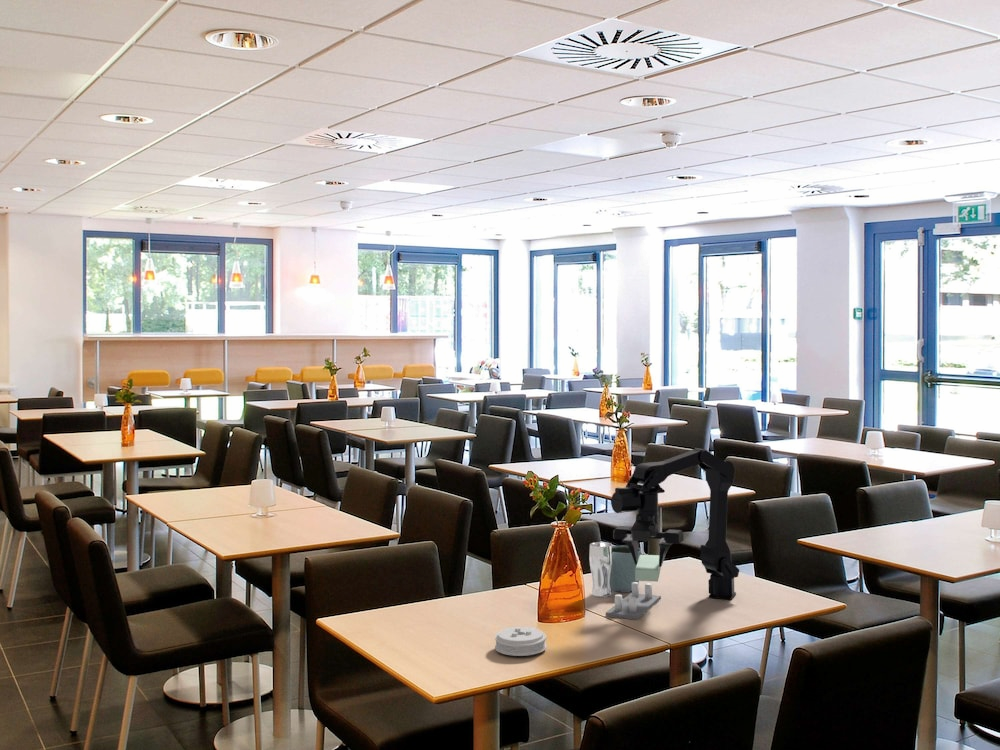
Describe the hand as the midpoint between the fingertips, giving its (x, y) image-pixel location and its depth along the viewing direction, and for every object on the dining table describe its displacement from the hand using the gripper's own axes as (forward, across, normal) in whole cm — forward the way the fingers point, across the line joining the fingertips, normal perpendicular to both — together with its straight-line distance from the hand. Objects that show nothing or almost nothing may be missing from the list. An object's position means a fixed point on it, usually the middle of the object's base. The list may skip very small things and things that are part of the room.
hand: (648, 565), depth 257 cm
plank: (+2, 0, 0) cm, 2 cm away
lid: (+13, -20, -43) cm, 49 cm away
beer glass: (+13, -17, +10) cm, 24 cm away
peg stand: (+12, -4, +1) cm, 13 cm away
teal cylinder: (+12, -13, +19) cm, 26 cm away
